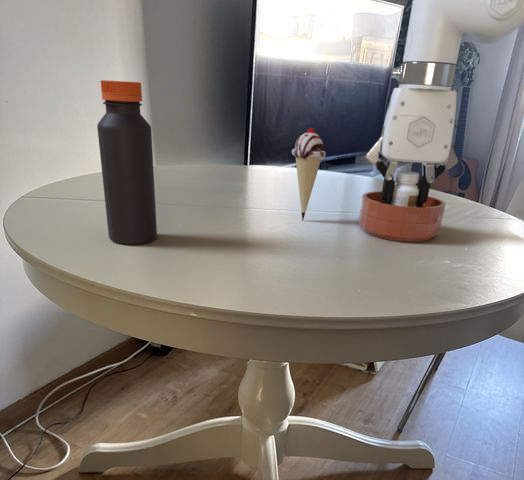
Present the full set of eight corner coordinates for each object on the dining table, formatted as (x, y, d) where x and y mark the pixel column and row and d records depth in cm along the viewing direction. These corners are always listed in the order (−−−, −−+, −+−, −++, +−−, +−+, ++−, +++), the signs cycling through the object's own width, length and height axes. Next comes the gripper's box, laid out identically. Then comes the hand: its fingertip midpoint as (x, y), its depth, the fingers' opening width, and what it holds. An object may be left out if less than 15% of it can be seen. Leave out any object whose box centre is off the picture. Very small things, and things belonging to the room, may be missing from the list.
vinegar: (146, 230, 74) (137, 82, 64) (164, 242, 69) (157, 83, 59) (102, 235, 70) (85, 79, 61) (118, 247, 65) (102, 80, 56)
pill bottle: (411, 225, 78) (421, 175, 74) (384, 222, 79) (393, 172, 75) (414, 220, 81) (423, 172, 78) (387, 216, 83) (396, 169, 79)
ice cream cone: (314, 226, 82) (324, 130, 75) (282, 222, 83) (289, 127, 76) (321, 219, 86) (331, 128, 79) (291, 215, 88) (298, 125, 81)
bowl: (426, 225, 87) (433, 193, 84) (447, 245, 75) (456, 210, 72) (353, 220, 87) (358, 189, 84) (363, 240, 75) (368, 204, 73)
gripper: (372, 74, 67) (353, 207, 76) (493, 81, 67) (461, 214, 75) (365, 76, 74) (348, 198, 82) (475, 82, 73) (447, 204, 82)
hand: (402, 204), depth 79 cm, fingers closed on pill bottle, 4 cm apart
